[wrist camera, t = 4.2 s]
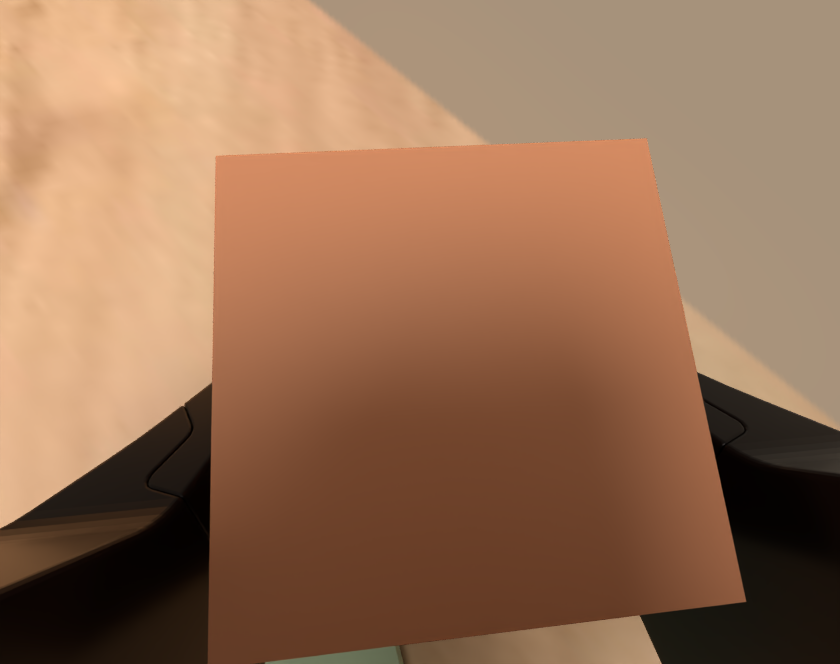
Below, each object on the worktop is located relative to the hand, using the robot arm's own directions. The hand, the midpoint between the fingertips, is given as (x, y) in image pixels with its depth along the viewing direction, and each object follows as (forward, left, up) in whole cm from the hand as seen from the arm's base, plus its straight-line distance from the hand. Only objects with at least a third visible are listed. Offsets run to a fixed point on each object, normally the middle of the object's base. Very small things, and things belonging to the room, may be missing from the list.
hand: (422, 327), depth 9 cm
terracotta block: (-1, 0, -4) cm, 4 cm away
